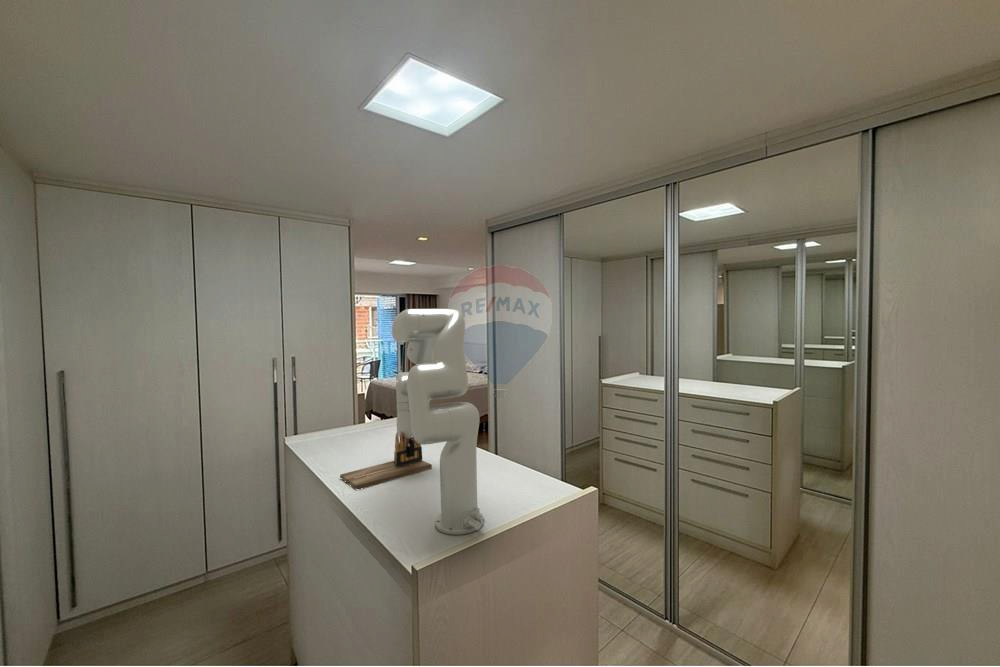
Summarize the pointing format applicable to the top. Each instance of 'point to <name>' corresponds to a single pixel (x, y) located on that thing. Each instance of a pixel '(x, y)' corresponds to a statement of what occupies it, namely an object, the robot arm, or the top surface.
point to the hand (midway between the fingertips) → (408, 455)
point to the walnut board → (383, 473)
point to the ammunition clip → (401, 451)
